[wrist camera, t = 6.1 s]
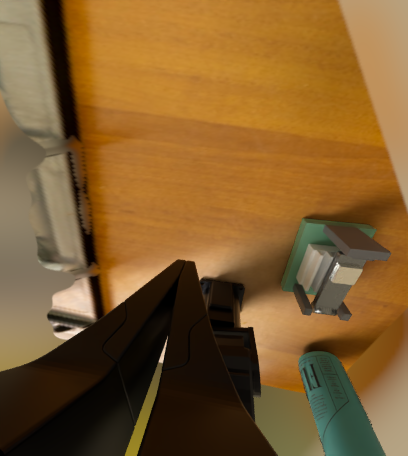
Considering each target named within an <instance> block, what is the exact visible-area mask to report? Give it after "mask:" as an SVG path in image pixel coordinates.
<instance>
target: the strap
mask: <svg viewBox="0 0 408 456" xmlns="http://www.w3.org/2000/svg"><path fill="white" fill-rule="evenodd" d="M366 261H367V260H361V259H352V258H351V257H347V256H346V255H345V254H344V253H343V252H342V251H337V253H336V255H335V257H334V259H333V261H332V264H331V266H330V268H329V270H328V272H327V274H326V276H325V278H324V280H323V282H322V284H321V286H320V288H319V290H318V292H317V294H316V296H315V299H314V301H313V302H312V303H311V306H312V308H313V311H312V312H313V313H318V314H326V315H333V316H335V315H336V314H337V310H338V308H339V306H340V305H341V303H342V301H343V300H344V298H345V296H346V295H347V293H348V291H349V290H350V288H351V286H352V285H354V284H355V283H356V281H357V279H358V278H359V276H360V274H361V273H362V271H363V266H364V264H365V263H366Z"/></svg>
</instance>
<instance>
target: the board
mask: <svg viewBox="0 0 408 456" xmlns="http://www.w3.org/2000/svg"><path fill="white" fill-rule="evenodd" d="M375 232H376V229H375V228H373V227H372V226H370V225H367V224H357V223H346V222H336V221H326V220H315V219H305V218H302V221H301V224H300V227H299V230H298V233H297V236H296V239H295V242H294V245H293V248H292V251H291V254H290V257H289V260H288V263H287V266H286V269H285V272H284V275H283V278H282V281H281V287H282V290H283V291H289V292H294V294H295V297H296V299H297V302H298V304H299V307H300V309H301V312H302V314H303V315H311V313H312V311H313V308H312V306H311V304H310V302H309V300H308V298H307V296H306V294H311V295H316V294H317V292H318V290H319V288H320V286H321V284H322V282H323V280H324V278H325V276H326V274H327V272H328V270H329V268H330V266H331V264H332V261H333V259H334V257H335V255H336V253H337V251H342V252H343V253H344V254H345V255H346V256H347V257H351V258H352V259H361V260H370V261H374V260H383V261H387V260H388V258H389V257H390V255H391V254H392V253H391V252H389V251H388V250H387V249H385V248H384V247H383V246H381V245H380V244H379V243H377V242H376V241H374V240H373V239H372V237H373V236H374V234H375ZM337 315H338V317H339V318H340V320H345V321H348V320H349V319H350V317H351V316H352V314H351V313H350V311H349V310H348V308H347V307H346V305H345V304H344V302H343V301H342V303H341V305H340V306H339V308H338V310H337Z"/></svg>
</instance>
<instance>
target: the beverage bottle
mask: <svg viewBox="0 0 408 456" xmlns="http://www.w3.org/2000/svg"><path fill="white" fill-rule="evenodd" d="M298 362H299V365H298V366H299V370H300V373H301V374H300V375H301V376H302V380H303V382H304V383H303V384H304V385H303V386H305V387H304V389H306V391H305V392H306V393H307V394H306V396H307V398H309V399H308V400H309V402H310V405H311V408H312V412H313V416H314V419H315V422H316V425H317V428H318V431H319V435H320V438H321V439H320V440H321V441H322V442H321V443H322V445H323V449H324V452H325V455H326V456H386V455H385V453H384V451H383V449H382V447H381V445H380V442H379V441H378V438H377V436H376V434H375V432H374V430H373V428H372V426H371V425H372V424H370V421H369V419H368V416H367V414H366V412H365V410H364V409H363V406H362V405H361V402H360V400H359V398H358V396H357V394H356V392H355V390H354V388H353V386H352V384H351V382H350V380H349V378H348V376H347V374H346V372H345V370H344V367H343V366H342V364H341V363H342V362H340V361H339V359H338V358H337V357H336V356H335V355H333V354H331V353H329V352H324V351H314V352H309V353H306V354H304V355H302V356H301V357H300V358H299V361H298Z"/></svg>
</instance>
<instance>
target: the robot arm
mask: <svg viewBox="0 0 408 456" xmlns="http://www.w3.org/2000/svg"><path fill="white" fill-rule="evenodd" d="M202 282H203V283H202ZM244 290H245V287H244V285H242V284H236V283H228V282H220V281H213V280H205V279H201V280H200V281H199V277H198V273H197V269H196V265H195V262H194V261H185V260H180V259H178V260H176V261H175V262H174V263H172V264H171V265H170V266H169V267H167V268H166V269H165V270H163V271H162V272H161V273H160V274H158V275H157V276H156V277H154V278H153V279H152V280H151V281H149V282H148V283H147V284H145V285H144V286H143V287H142V288H140V289H139V290H138V291H136V292H135V293H134V294H133V295H131V296H130V297H129V298H127V299H126V300H125V302H122V303H121V304H120V305H118V306H117V307H116V308H114V309H113V310H112V311H110V312H109V313H108V314H106V315H105V316H104V317H102V318H101V319H99V320H98V321H96V322H95V323H93V324H92V325H90V326H89V327H87V328H86V329H84V330H83V331H81V332H80V333H78V334H77V335H75V336H74V337H72V338H71V339H69V340H67V341H66V342H64V343H63V344H61V345H60V346H58V347H57V348H55V349H54V350H52V351H51V352H49V353H47V354H46V355H44V356H42V357H40V358H38V359H36V360H34V361H32V362H30V363H27V364H24V365H22V366H19V367H15V368H12V369H9V370H5V371H1V372H0V456H125V453H126V450H127V447H128V445H129V442H130V439H131V436H132V434H133V431H134V426H135V425H136V422H137V420H138V417H139V414H140V411H141V409H142V406H143V403H144V400H145V398H146V395H147V392H148V389H149V387H150V384H151V381H152V378H153V375H154V373H155V370H156V367H157V364H158V362H159V359H160V356H161V353H162V351H163V348H164V345H165V342H166V340H167V345H166V350H165V355H164V361H163V366H162V373H161V377H160V382H159V386H158V390H157V395H156V398H155V401H154V404H153V407H152V410H151V414H150V417H149V420H148V423H147V426H146V429H145V433H144V435H143V439H142V442H141V445H140V448H139V451H138V454H137V456H278V455H277V454H276V452H275V451H274V449H273V448H272V446H271V445H270V444H269V442H268V441H267V439H266V438H265V436H264V435H263V434H262V432H261V431H260V429H259V428H258V427H257V425H256V424H255V414H254V398H253V397H261V384H260V371H259V362H258V355H257V349H256V343H255V337H254V331H253V327H248V328H242V327H241V323H240V309H241V304H242V300H243V295H244ZM167 337H168V339H167Z"/></svg>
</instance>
